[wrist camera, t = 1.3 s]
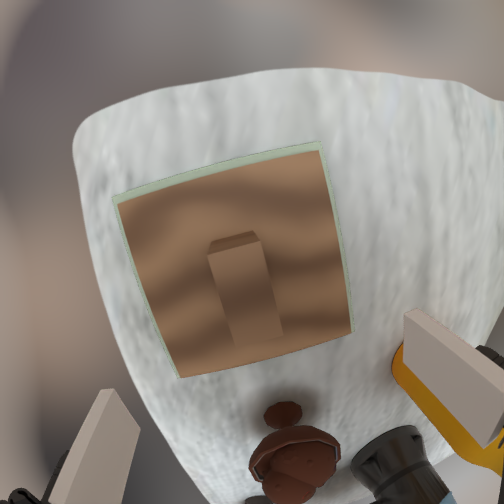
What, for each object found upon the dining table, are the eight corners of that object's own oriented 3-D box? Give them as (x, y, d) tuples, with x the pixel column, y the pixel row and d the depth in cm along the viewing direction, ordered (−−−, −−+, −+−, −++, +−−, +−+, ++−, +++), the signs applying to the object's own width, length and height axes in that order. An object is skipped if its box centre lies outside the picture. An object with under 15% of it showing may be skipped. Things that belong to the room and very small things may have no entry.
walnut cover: (346, 327, 31) (374, 360, 24) (182, 370, 30) (173, 413, 23) (314, 151, 27) (342, 139, 19) (122, 203, 26) (89, 207, 19)
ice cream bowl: (285, 445, 36) (304, 522, 21) (227, 420, 34) (232, 510, 19) (335, 405, 35) (374, 482, 20) (280, 374, 33) (309, 468, 18)
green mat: (352, 328, 32) (354, 331, 31) (178, 374, 31) (177, 378, 31) (318, 142, 27) (320, 141, 26) (114, 196, 27) (111, 197, 26)
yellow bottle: (438, 318, 33) (579, 423, 5) (435, 364, 36) (543, 470, 7) (388, 343, 33) (527, 491, 5) (389, 389, 35) (489, 524, 7)
